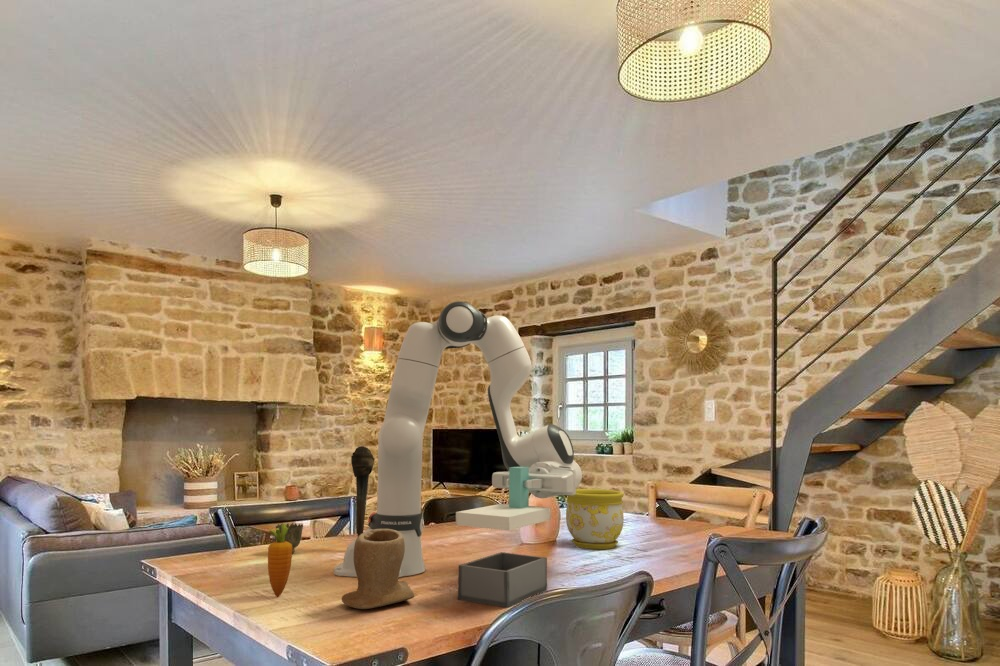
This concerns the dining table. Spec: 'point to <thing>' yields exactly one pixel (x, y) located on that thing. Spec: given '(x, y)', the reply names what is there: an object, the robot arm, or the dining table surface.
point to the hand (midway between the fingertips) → (517, 483)
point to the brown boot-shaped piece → (378, 570)
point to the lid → (507, 508)
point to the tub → (502, 579)
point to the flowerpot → (595, 518)
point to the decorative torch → (361, 481)
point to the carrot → (279, 560)
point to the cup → (292, 534)
